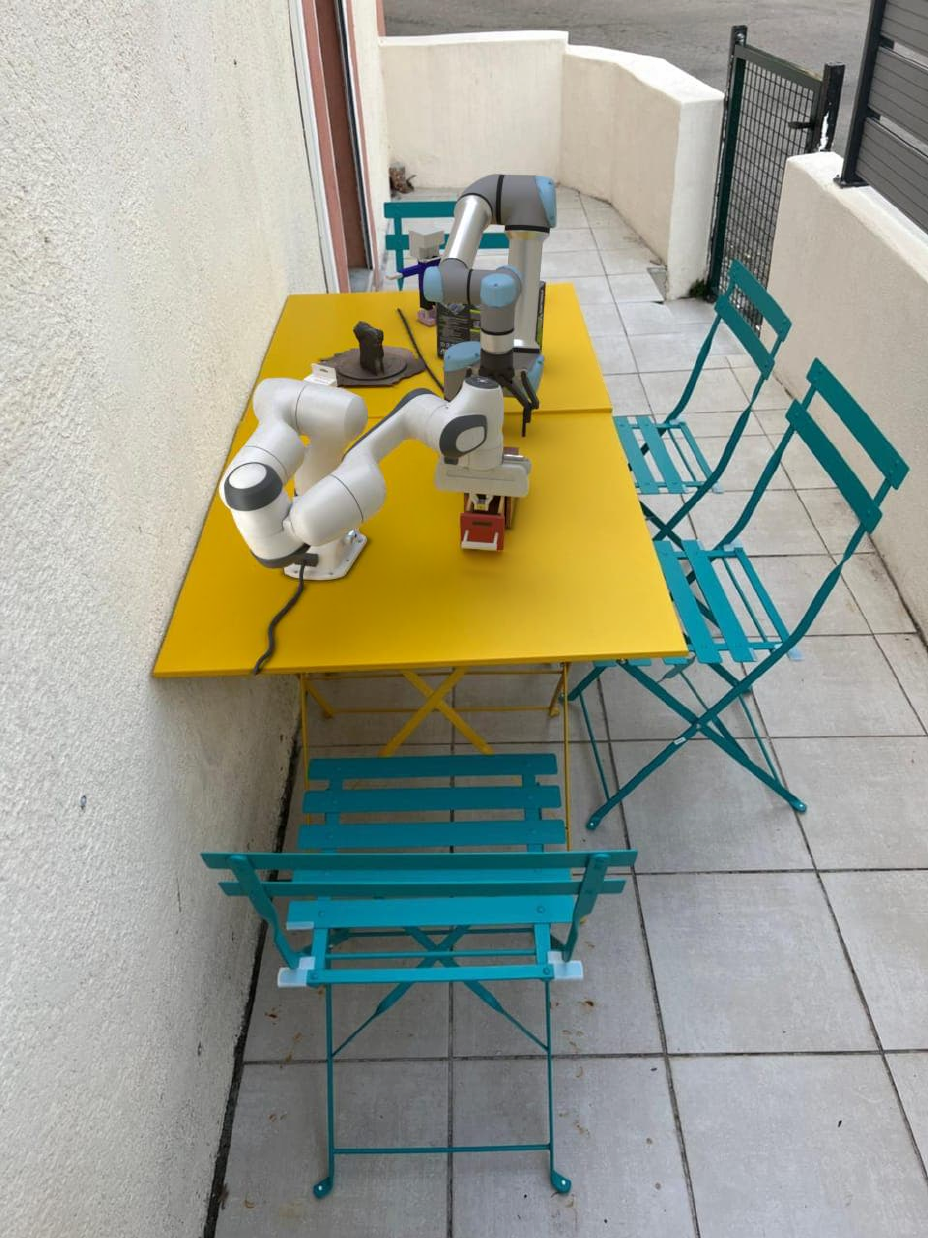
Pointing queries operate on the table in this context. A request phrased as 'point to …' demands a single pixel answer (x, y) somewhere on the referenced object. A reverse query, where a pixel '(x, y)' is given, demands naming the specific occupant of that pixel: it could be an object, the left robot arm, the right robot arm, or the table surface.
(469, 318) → the box
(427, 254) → the toy
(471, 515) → the drawer
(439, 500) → the table surface
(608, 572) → the table surface
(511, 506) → the cabinet
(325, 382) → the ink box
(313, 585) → the table surface
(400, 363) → the sculpture
